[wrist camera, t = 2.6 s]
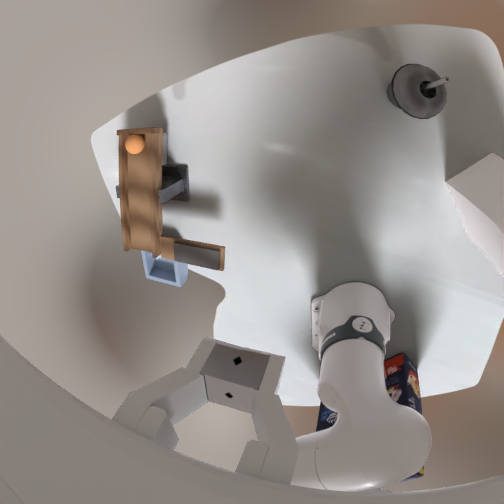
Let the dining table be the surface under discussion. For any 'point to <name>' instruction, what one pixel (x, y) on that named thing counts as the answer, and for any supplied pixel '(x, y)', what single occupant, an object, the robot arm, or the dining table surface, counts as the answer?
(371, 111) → the dining table surface
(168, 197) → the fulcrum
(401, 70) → the beverage cup
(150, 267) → the bin
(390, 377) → the cereal box
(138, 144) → the ball
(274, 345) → the dining table surface
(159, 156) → the lever
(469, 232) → the milk
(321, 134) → the dining table surface
